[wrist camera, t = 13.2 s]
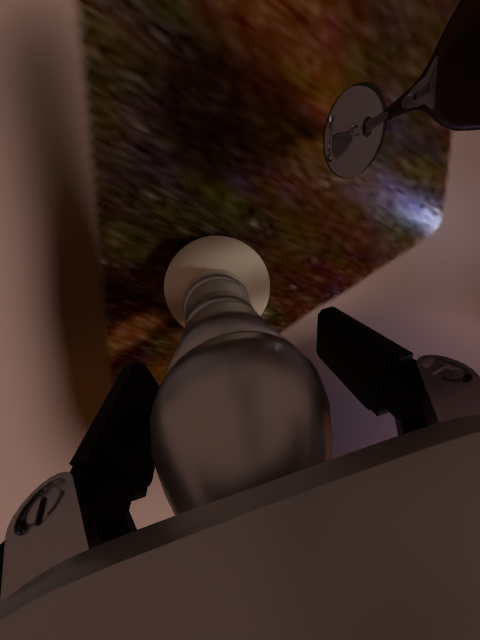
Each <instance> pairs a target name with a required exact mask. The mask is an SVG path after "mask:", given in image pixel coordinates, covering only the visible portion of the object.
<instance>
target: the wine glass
mask: <svg viewBox="0 0 480 640" xmlns="http://www.w3.org/2000/svg"><path fill="white" fill-rule="evenodd" d="M412 110H421V111H424V112H426V113H427V114H428V115H429V116H431V117H432V118H433V119H434V120H435V121H436V122H438V123H439V124H440V125H442V126H444V127H446V128H448V129H451V130H455V131H465V130H466V131H469V130H480V0H460V2H459V3H458V5H457V7H456V9H455V10H454V12H453V14H452V16H451V17H450V19H449V21H448V23H447V25H446V27H445V29H444V31H443V33H442V35H441V37H440V40H439V42H438V44H437V46H436V48H435V50H434V52H433V54H432V56H431V58H430V60H429V62H428V64H427V66H426V68H425V69H424V71H423V73H422V74H421V75H420V77H419V78H418V80H417V81H416V82H415V83H414V84H413V86H412V87H411V88H410V89H409V90H408V91H406V92H405V93H404V94H403V95H402V96H401V97H400V98H398V99H397V100H396V101H395V102H394V103H392V104H391V105H390V106H389V107H387V108H386V104H385V100H384V97H383V95H382V93H381V91H380V90H379V89H378V88H377V87H376V86H375V85H373V84H371V83H368V82H360V83H357V84H354V85H352V86H351V87H349V88H348V89H347V90H345V91H344V92H343V93H342V95H341V96H340V97H339V98H338V99H337V101H336V103H335V104H334V106H333V108H332V110H331V112H330V114H329V117H328V120H327V124H326V128H325V134H324V151H325V157H326V160H327V163H328V165H329V167H330V169H331V170H332V171H333V172H334V173H335V174H336V175H337V176H339V177H342V178H352V177H355V176H357V175H359V174H361V173H362V172H363V171H364V170H366V169H367V168H368V166H369V165H370V164H371V163H372V162H373V160H374V159H375V157H376V156H377V154H378V152H379V150H380V148H381V145H382V142H383V139H384V136H385V131H386V125H387V121H388V120H390V119H392V118H394V117H396V116H399V115H401V114H403V113H406V112H408V111H412Z"/></svg>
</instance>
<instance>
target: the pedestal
mask: <svg viewBox="0 0 480 640" xmlns="http://www.w3.org/2000/svg"><path fill="white" fill-rule="evenodd" d="M210 269H222V270H226V271H230V272H232V273H234V274H235V275H237V276H238V277H239V278H240V279H241V280H242V281H243V283H244V284H245V286H246V288H247V291H248V294H249V298H250V302H251V304H252V306H253V308H254V309H255V311H256V312H257V313H258V314H259V315H260V316H261V314H262V313H263V311H264V309H265V307H266V305H267V302H268V298H269V293H270V281H269V275H268V272H267V269H266V267H265V265H264V263H263V261H262V259H261V258H260V256H259V255H258V254H257V253H256V252H255V251H254V250H253V249H252V248H251V247H249V246H248V245H246V244H245V243H243V242H241V241H239V240H237V239H233V238H230V237H225V236H206V237H202V238H199V239H196V240H194V241H192V242H190V243H189V244H187V245H186V246H185V247H183V248H182V249H181V250H180V251H179V252H178V253H177V254H176V255H175V257H174V258H173V259H172V261H171V263H170V265H169V267H168V269H167V272H166V275H165V280H164V295H165V299H166V303H167V305H168V308H169V310H170V312H171V314H172V315H173V316H174V318H175V319H176V320H177V321H178V322H179V323H180V324H181V325H182V326H183V327H185V316H184V312H183V294H184V291H185V289H186V287H187V285H188V284H189V282H190V281H191V280H192V279H193V278H194V277H195V276H197V275H198V274H200V273H202V272H204V271H207V270H210Z"/></svg>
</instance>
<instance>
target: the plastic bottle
mask: <svg viewBox="0 0 480 640" xmlns="http://www.w3.org/2000/svg"><path fill="white" fill-rule="evenodd" d="M183 312H184V316H185V327H184V331H183V334H182V338H181V341H180V344H179V346H178V348H177V351H176V353H175V355H174V357H173V359H172V361H171V363H170V366H169V368H168V370H167V372H166V374H165V376H164V379H163V381H162V383H161V384H160V387H159V390H158V393H157V396H156V399H155V401H154V404H153V407H152V412H151V416H150V432H151V450H152V459H153V462H154V465H155V467H156V470H157V473H158V476H159V479H160V482H161V485H162V488H163V490H164V493H165V496H166V498H167V500H168V502H169V504H170V506H171V508H172V510H173V512H174V514H175V516H176V515H179V514H182V513H184V512H187V511H190V510H193V509H195V508H198V507H201V506H204V505H206V504H209V503H212V502H215V501H217V500H220V499H223V498H226V497H228V496H231V495H234V494H237V493H239V492H242V491H245V490H248V489H250V488H253V487H256V486H259V485H262V484H264V483H267V482H270V481H273V480H275V479H278V478H281V477H284V476H287V475H289V474H292V473H295V472H298V471H300V470H303V469H306V468H309V467H312V466H314V465H317V464H320V463H323V462H326V461H328V460H331V459H332V458H333V457H332V456H333V455H332V454H333V437H332V425H331V413H330V403H329V399H328V396H327V393H326V391H325V389H324V386H323V383H322V381H321V378H320V376H319V373H318V371H317V369H316V368H315V367H314V365H313V364H312V362H311V361H310V360H309V359H308V358H307V357H306V356H305V355H304V354H302V352H301V351H300V350H299V349H298V348H297V347H295V346H294V345H293V344H291V343H290V342H289V341H288V340H287V339H285V338H284V337H283V336H282V335H281V334H279V333H278V332H277V331H276V330H275V329H273V328H272V327H271V326H270V325H268V324H267V323H266V322H265V321H264V320H263V319H262V317H261V316H260V315H259V314H258V313H257V312H256V311H255V309H254V308H253V306H252V304H251V302H250V298H249V294H248V291H247V288H246V286H245V284H244V283H243V281H242V280H241V279H240V278H239V277H238V276H237V275H235V274H234V273H232V272H230V271H226V270H222V269H210V270H207V271H204V272H202V273H200V274H198V275H197V276H195V277H194V278H193V279H192V280H191V281H190V282H189V284H188V285H187V287H186V289H185V291H184V294H183Z"/></svg>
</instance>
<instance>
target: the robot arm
mask: <svg viewBox="0 0 480 640" xmlns="http://www.w3.org/2000/svg"><path fill="white" fill-rule="evenodd" d="M316 351H317V354H318V356H319V358H320V359H321V360H322V361H323V362H324V363H325V364H326V365H327V366H328V367H329V368H330V369H331V371H332V372H333V373H334V374H335V375H336V376H337V377H338V378H339V379H340V380H341V381H342V382H343V383H344V385H345V386H346V387H347V388H348V389H349V390H350V391H351V392H352V393H353V394H354V396H356V398H357V399H358V400H359V401H360V402H361V403H362V404H363V405H364V406H365V407H366V408H367V409H368V410H372V411H373V412H374V413H375V414H376V416H380V415H383V414H385V413H388V412H390V413H391V414H392V415H393V416H394V418H395V423H396V428H397V433H398V436H397V437H394V438H391V439H388V440H385V441H382V442H379V443H377V444H374V445H371V446H368V447H365V448H362V449H360V450H357V451H354V452H351V453H348V454H345V455H343V456H340V457H337V458H334V459H331V460H328V461H326V462H323V463H320V464H317V465H314V466H312V467H309V468H306V469H303V470H300V471H298V472H295V473H292V474H289V475H287V476H284V477H281V478H278V479H275V480H273V481H270V482H267V483H264V484H262V485H259V486H256V487H253V488H250V489H248V490H245V491H242V492H239V493H237V494H234V495H231V496H228V497H226V498H223V499H220V500H217V501H215V502H212V503H209V504H206V505H204V506H201V507H198V508H195V509H193V510H190V511H187V512H184V513H182V514H179V515H176V516H173V517H171V518H168V519H165V520H163V521H160V522H157V523H154V524H152V525H149V526H147V527H144V528H141V529H139V530H137V528H136V526H135V524H134V521H133V519H132V517H131V514H130V512H129V508H130V504H131V501H134V500H137V499H140V498H143V497H145V496H146V493H147V488H148V486H149V485H150V484H151V482H152V479H153V474H154V469H155V465H154V462H153V459H152V450H151V432H150V416H151V412H152V407H153V404H154V401H155V399H156V396H157V393H158V390H159V387H160V386H159V385H158V383H157V382H156V380H155V379H154V377H153V376H152V374H151V373H150V371H149V370H148V368H147V367H146V365H145V364H143V363H142V364H141V363H140V362H135V363H131V364H128V365H125V366H124V367H123V369H122V371H121V373H120V374H119V376H118V378H117V380H116V381H115V383H114V385H113V387H112V389H111V390H110V392H109V394H108V396H107V398H106V399H105V401H104V403H103V405H102V406H101V408H100V410H99V412H98V414H97V415H96V417H95V419H94V421H93V422H92V424H91V426H90V428H89V430H88V431H87V433H86V435H85V437H84V438H83V440H82V442H81V444H80V446H79V447H78V449H77V451H76V453H75V455H74V456H73V458H72V460H71V462H70V465H72V466H73V467H72V469H71V471H70V473H68V472H62V473H58V474H56V475H55V476H52V477H51V478H49V479H48V480H47V481H45V482H44V483H42V484H41V485H40V486H39V487H38V488H37V489H35V490H34V491H33V493H31V494H30V495H29V497H28V498H27V499H26V500H25V501H24V502H23V503H22V505H21V506H20V507H19V509H18V510H17V512H16V513H15V515H14V516H13V518H12V520H11V522H10V524H9V526H8V528H7V532H6V536H5V541H4V542H3V543H1V544H0V640H480V377H479V376H478V374H477V373H476V372H475V371H474V370H473V369H471V368H470V367H468V366H467V365H465V364H463V363H461V362H459V361H457V360H453V359H451V358H448V357H443V356H438V355H425V356H422V357H419V358H418V360H417V361H416V360H414V359H413V358H412V356H413V353H412V352H410V351H408V350H406V349H405V348H403V347H401V346H400V345H398V344H396V343H395V342H393V341H391V340H389V339H388V338H386V337H384V336H383V335H381V334H379V333H378V332H376V331H374V330H372V329H371V328H369V327H367V326H365V325H364V324H362V323H360V322H359V321H357V320H355V319H354V318H352V317H350V316H349V315H347V314H345V313H343V312H342V311H340V310H338V309H337V308H335V307H329V308H326V309H322V310H321V311H320V313H319V314H318V327H317V348H316Z"/></svg>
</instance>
